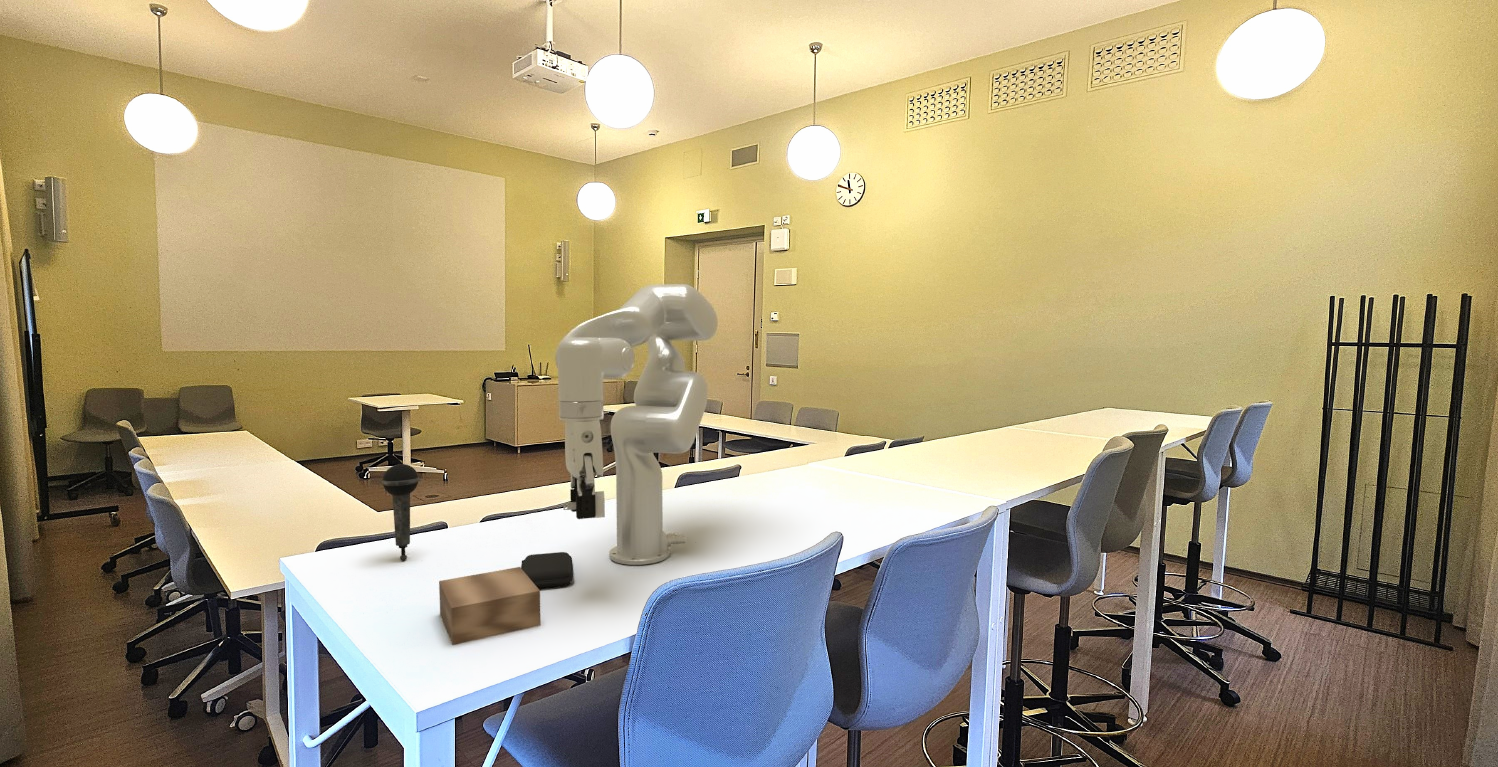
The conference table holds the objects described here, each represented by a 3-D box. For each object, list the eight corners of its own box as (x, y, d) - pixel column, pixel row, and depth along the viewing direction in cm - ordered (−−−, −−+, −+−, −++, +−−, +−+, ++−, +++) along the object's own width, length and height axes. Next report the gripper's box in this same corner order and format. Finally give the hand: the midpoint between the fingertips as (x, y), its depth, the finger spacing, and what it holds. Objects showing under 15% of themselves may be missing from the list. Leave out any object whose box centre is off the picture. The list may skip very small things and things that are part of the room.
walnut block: (520, 599, 118) (519, 566, 118) (540, 627, 107) (539, 590, 107) (440, 616, 112) (439, 580, 111) (452, 646, 101) (451, 607, 100)
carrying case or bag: (516, 568, 135) (512, 595, 121) (516, 553, 135) (512, 578, 121) (571, 563, 138) (574, 589, 124) (571, 548, 138) (573, 572, 124)
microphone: (424, 562, 137) (421, 465, 136) (386, 568, 133) (383, 468, 132) (419, 553, 143) (416, 459, 141) (382, 559, 139) (379, 463, 138)
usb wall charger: (604, 518, 117) (604, 495, 117) (563, 520, 115) (563, 497, 115) (604, 512, 121) (603, 490, 121) (564, 514, 119) (563, 492, 119)
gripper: (614, 414, 110) (616, 524, 112) (592, 404, 126) (594, 501, 127) (567, 417, 107) (570, 529, 109) (551, 406, 123) (553, 505, 124)
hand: (583, 513), depth 118 cm, fingers closed on usb wall charger, 4 cm apart
